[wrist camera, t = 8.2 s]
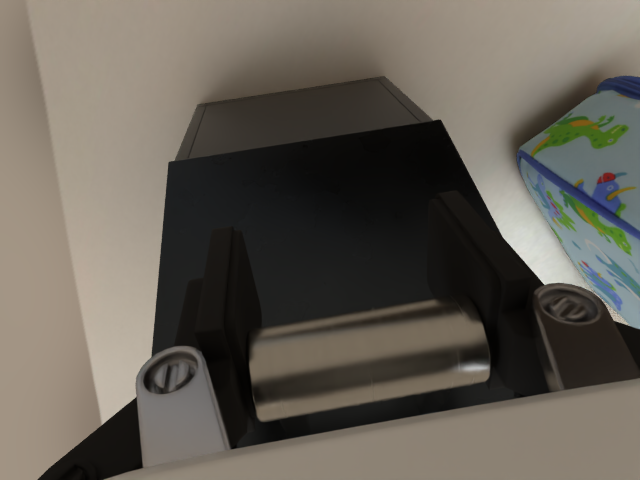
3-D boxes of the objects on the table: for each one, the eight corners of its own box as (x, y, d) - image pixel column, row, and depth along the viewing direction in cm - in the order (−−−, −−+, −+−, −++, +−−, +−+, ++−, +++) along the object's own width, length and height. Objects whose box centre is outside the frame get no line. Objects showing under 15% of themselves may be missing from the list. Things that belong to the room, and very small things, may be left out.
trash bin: (390, 243, 39) (430, 327, 30) (241, 267, 38) (236, 361, 30) (384, 75, 31) (436, 122, 22) (197, 104, 31) (172, 164, 22)
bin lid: (603, 457, 13) (754, 383, 8) (145, 543, 12) (5, 522, 7) (438, 131, 22) (461, 5, 17) (173, 173, 22) (119, 55, 17)
